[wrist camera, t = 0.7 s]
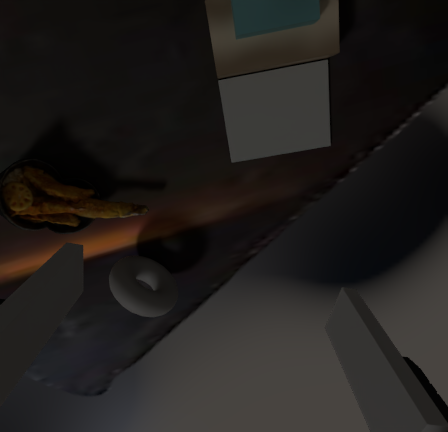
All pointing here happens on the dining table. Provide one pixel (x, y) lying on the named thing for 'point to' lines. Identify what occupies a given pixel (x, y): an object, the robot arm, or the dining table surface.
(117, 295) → the donut
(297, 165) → the dining table surface
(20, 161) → the fried shrimp in bowl
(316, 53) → the serving board
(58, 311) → the robot arm
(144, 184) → the dining table surface
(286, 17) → the teal block
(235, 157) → the mat
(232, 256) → the dining table surface
